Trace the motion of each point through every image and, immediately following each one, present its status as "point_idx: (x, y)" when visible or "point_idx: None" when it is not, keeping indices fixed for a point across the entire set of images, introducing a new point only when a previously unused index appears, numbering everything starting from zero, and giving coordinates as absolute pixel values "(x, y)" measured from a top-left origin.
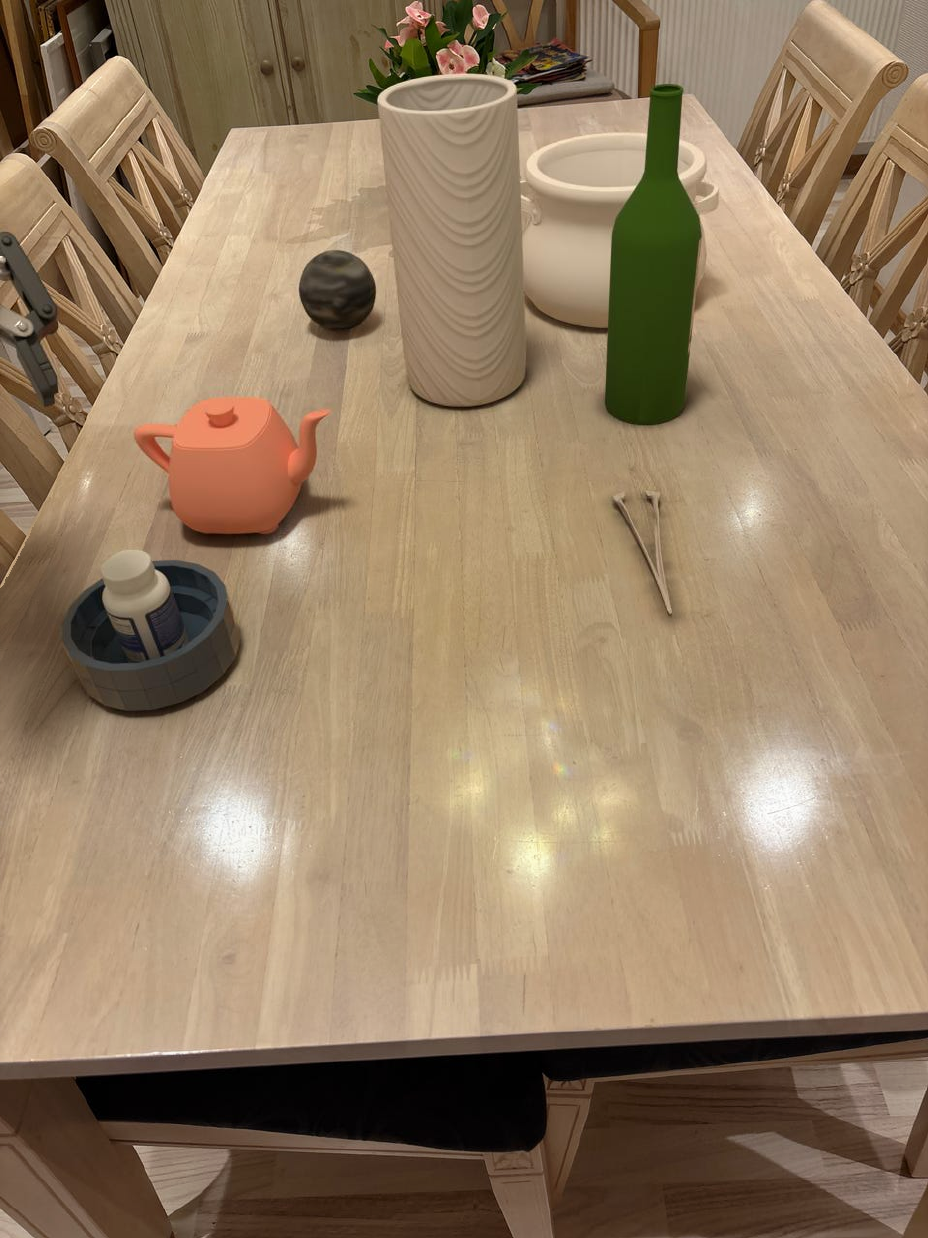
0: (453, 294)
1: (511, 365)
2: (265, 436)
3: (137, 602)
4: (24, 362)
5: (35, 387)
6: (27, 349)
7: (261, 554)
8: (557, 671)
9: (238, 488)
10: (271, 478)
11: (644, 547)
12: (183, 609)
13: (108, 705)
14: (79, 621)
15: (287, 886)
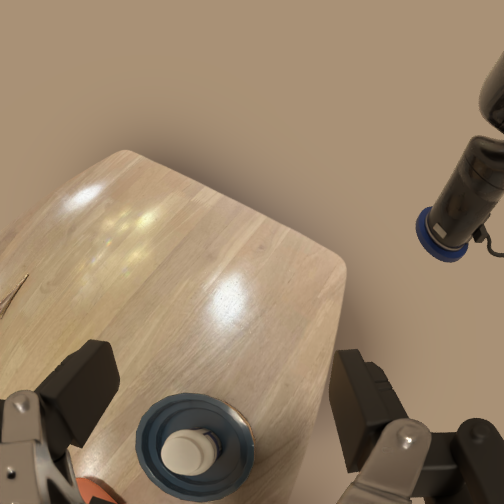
0: None
1: None
2: None
3: (191, 434)
4: (78, 381)
5: (103, 378)
6: (54, 381)
7: (108, 476)
8: (69, 282)
9: (83, 494)
10: None
11: (4, 304)
12: None
13: (248, 423)
14: (235, 480)
15: (224, 261)
